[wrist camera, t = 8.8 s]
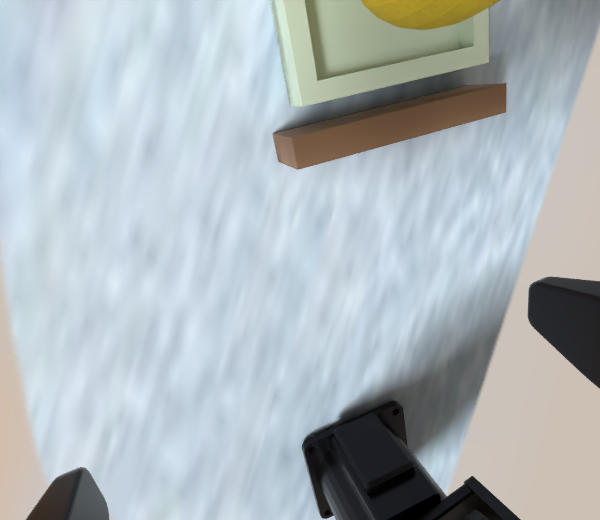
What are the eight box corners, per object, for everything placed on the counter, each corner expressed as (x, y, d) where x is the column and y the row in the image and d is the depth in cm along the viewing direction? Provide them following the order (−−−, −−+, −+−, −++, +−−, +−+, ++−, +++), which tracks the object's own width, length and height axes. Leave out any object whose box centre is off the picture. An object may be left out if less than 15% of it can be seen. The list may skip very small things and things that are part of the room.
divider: (466, 111, 21) (506, 112, 19) (278, 161, 18) (297, 169, 16) (466, 85, 20) (506, 83, 18) (272, 133, 18) (291, 138, 16)
